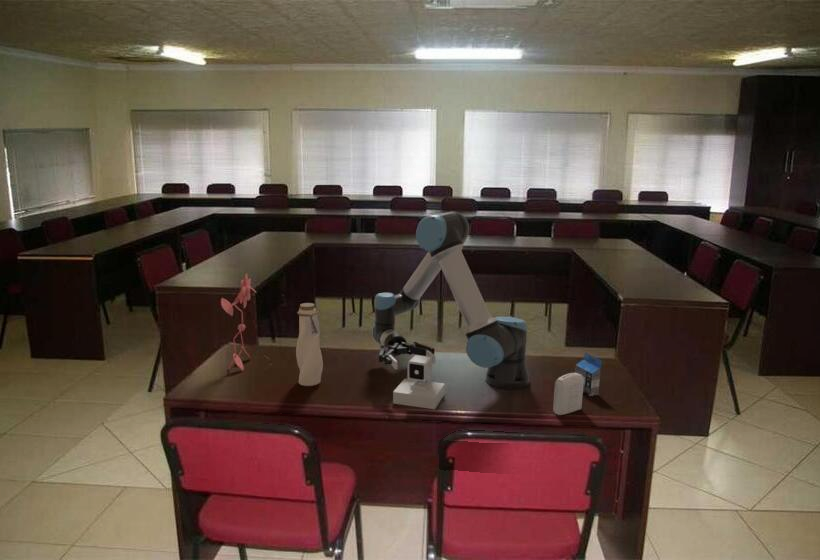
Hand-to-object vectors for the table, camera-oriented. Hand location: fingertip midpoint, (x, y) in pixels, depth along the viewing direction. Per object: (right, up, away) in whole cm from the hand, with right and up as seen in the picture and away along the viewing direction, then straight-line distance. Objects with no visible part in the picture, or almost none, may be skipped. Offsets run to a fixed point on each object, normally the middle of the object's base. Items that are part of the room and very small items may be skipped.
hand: (415, 362), depth 202 cm
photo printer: (+48, -14, -7) cm, 51 cm away
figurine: (-62, -5, +28) cm, 68 cm away
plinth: (+1, -12, 0) cm, 12 cm away
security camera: (+1, -8, -1) cm, 8 cm away
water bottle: (-37, -9, +13) cm, 40 cm away
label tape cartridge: (+58, -11, +8) cm, 60 cm away
